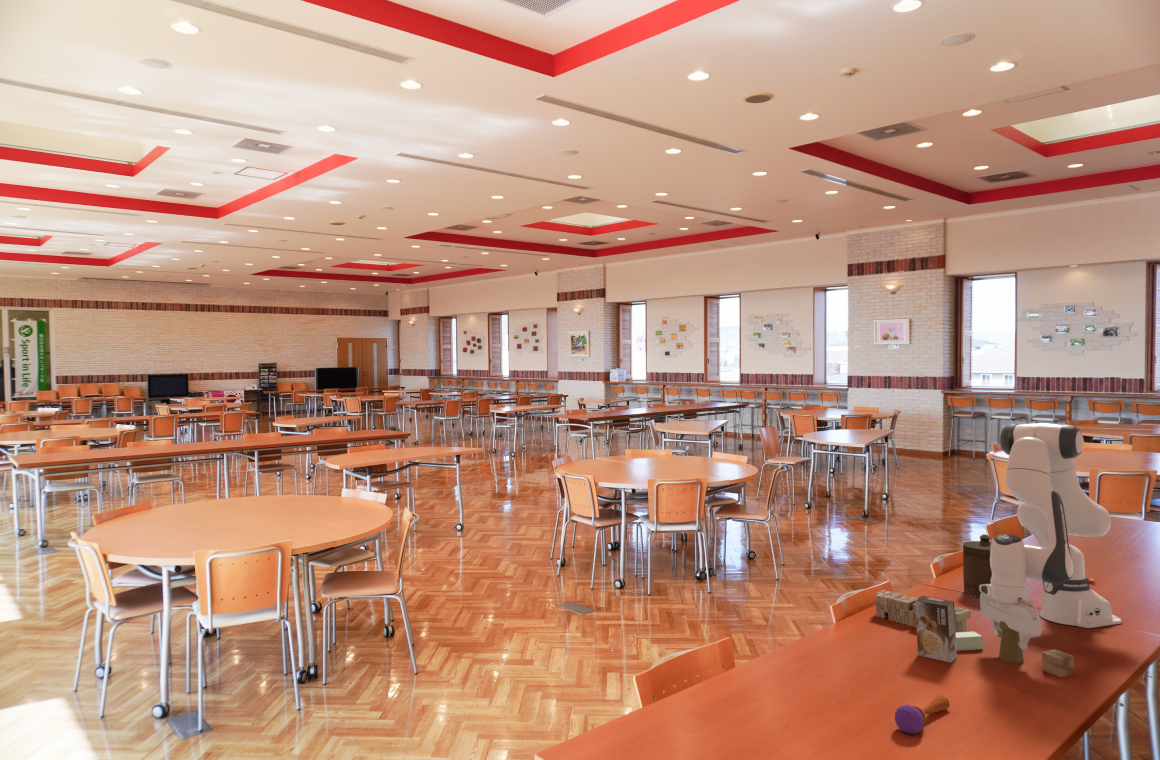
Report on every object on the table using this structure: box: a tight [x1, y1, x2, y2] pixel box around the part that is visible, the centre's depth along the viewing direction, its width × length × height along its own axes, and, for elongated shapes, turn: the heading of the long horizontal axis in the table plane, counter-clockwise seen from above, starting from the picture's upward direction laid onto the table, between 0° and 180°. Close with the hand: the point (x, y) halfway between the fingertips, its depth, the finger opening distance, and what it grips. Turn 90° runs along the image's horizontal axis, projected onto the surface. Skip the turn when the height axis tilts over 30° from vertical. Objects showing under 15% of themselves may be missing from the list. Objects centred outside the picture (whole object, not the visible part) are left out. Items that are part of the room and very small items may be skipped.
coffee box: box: [915, 595, 958, 664], centre depth 199 cm, size 9×6×16 cm
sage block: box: [956, 630, 984, 652], centre depth 205 cm, size 8×4×4 cm, turn 95°
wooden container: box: [962, 533, 992, 598], centre depth 255 cm, size 15×15×22 cm
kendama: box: [894, 694, 951, 735], centre depth 161 cm, size 6×6×20 cm
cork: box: [998, 621, 1025, 664], centre depth 195 cm, size 6×6×11 cm
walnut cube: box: [1041, 648, 1075, 678], centre depth 186 cm, size 5×5×5 cm
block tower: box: [874, 589, 972, 632], centre depth 225 cm, size 8×8×29 cm
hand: (1010, 642), depth 195 cm, fingers open, 8 cm apart
